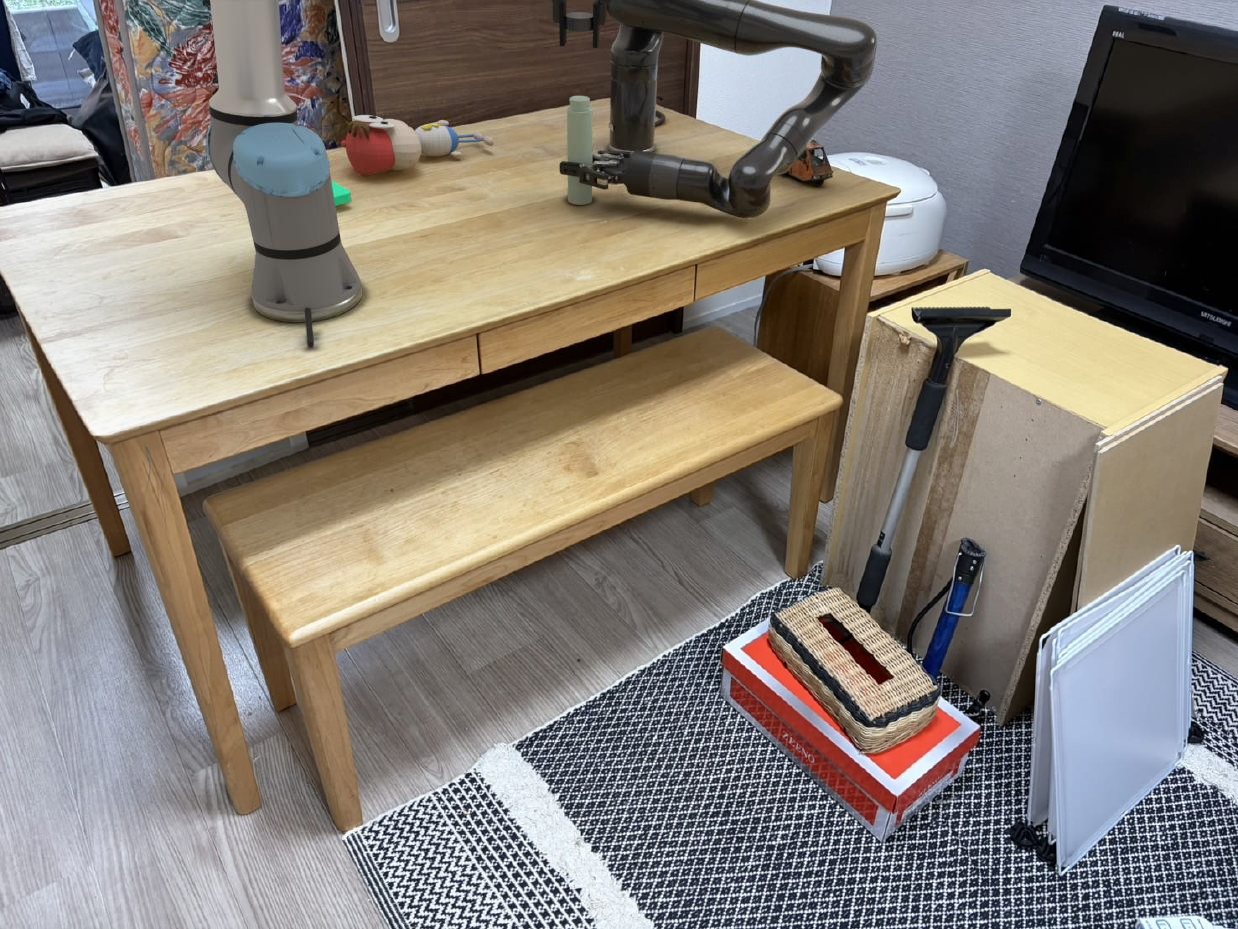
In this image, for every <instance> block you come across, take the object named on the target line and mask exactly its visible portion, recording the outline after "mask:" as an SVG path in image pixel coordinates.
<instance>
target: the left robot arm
mask: <svg viewBox="0 0 1238 929" xmlns="http://www.w3.org/2000/svg"><path fill="white" fill-rule="evenodd" d="M209 1H210V2H209V3H210V12H211V22H212V23H211V24H212V31H213V32H212V33H213V41H214V42H213V43H214V50H215V51H214V52H215V61H216V71H217V80H218V81H217V82H218V89H217V91H216V92H215V93H214V94H213V95H212V96H211V97H210V99H209V100H208V108H209V116H210V117H209V118H210V124H209V126H208V129H207V132H206V138H205V139H206V140H205V142H206V143H205V144H206V145H205V146H206V151H207V156H208V158H209V162H210V164H211V167H212V168H213V170H214V172H215V173H216V175H217V176H218V177H219V179H220V180H221V181H222V182H223V183H224V184H225V185H226V186H228V188H230V190H231V191H232V192H233V193H234V194H235V195H236V196H237V198H238V199H239V200H240V201H241V202H242V204H243V206H244V208H245V211H246V215H247V219H248V220H247V221H248V224H249V228H250V233H251V237H252V242H253V247H254V251H255V258H254V264H253V273H252V283H251V291H250V293H251V299H252V303H253V307H254V309H255V310H256V311H257V313H259V314H260V315H262V316H264V317H266V318H268V319H271V320H275V321H281V322H289V323H304V322H305V329H306V330H305V332H306V344H307V347H309V348H313V347H314V346H315V338H314V327H313V322H314V321H315V322H316V321H320V320H326V319H330V318H332V317H336V316H338V315H341V314H343V313H345V312H348V311H349V310H351V309H353V308H354V307H355V306H356V305H357V304H358V303H359V302H360V301H361V298H362V297H363V287H362V282H361V278H360V276H359V274H358V272H357V270H356V268H355V266H354V264H353V263H352V261H351V259H350V257H349V255H348V253H347V251H346V250H345V248H344V245H343V243H342V239H341V233H340V225H339V220H338V214H337V207H336V206H335V201H334V194H333V188H332V182H331V181H332V177H331V162H330V158H329V156H328V153H327V150H326V146H325V144H324V143H325V142H324V141H323V139H322V138H321V137H320V135H318V134H317V133H316V132H315V131H313V130H311V129H310V128H308V127H305V126H302V125H299V118H298V105H297V104H296V102H295V101H294V100H292V98H291V97H289V95H287V93H286V90H285V75H284V73H285V72H284V61H283V59H284V58H283V46H282V45H283V44H282V30H281V14H280V0H209ZM608 1H610V0H594V2H593V4H592V14H593V30H592V49H598V47H599V46H600V26H605V25H606V21H607V10H606V4H607V2H608ZM551 3H552V21H553V23H554V24H555V23H556V24H559V25H558V26H559V27H558V28H559V29H558V30H559V32H558V34H559V47H565V46H566V44H567V40H568V39H567V29H565V14H567V0H551Z"/></svg>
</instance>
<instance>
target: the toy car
mask: <svg viewBox="0 0 1238 929" xmlns="http://www.w3.org/2000/svg"><path fill="white" fill-rule="evenodd" d="M818 150H821V151H822V158H821V157H819V154H817V155H816V153H815V152H816V151H818ZM828 158H829V157H828V156H827V153H826V151H825V146H823V145H822V144H820V143H818V142H817V140H815V139H814V138H813V139H812V141H811V142H810V143H809V145H808V146H807V147H806V149H805V150H804V151H803V153H802V154H801V155H800V157H799V158H798V159H797V161H796V162H795V163H794V165H793V166H792V167H791V168H790V169H789V170H788V171H787V172H785V173H783V174H782V175H785V176H786V175H787V176H788V177H793V178H794V179H797V180H799V181H801V182H804V183H812V182H815V183H814V184H815V185H816V186H819V187H822V186H823V185H824V184H825V181H826V180H829V179H832V178H833V177H834V176H833V174H834V171H833V169H832V166H831V163H830V161H829V159H828Z"/></svg>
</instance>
